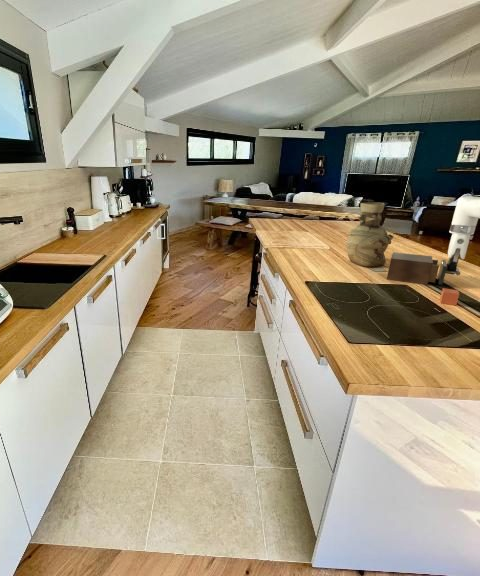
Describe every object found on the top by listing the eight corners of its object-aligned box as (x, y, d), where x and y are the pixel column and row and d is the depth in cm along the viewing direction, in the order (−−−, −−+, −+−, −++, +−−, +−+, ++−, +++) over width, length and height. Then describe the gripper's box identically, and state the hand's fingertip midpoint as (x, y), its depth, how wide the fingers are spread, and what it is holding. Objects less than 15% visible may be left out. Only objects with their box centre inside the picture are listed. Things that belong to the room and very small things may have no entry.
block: (454, 301, 113) (458, 290, 112) (456, 305, 110) (459, 294, 108) (439, 299, 116) (442, 288, 114) (440, 303, 112) (443, 291, 111)
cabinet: (426, 277, 139) (432, 256, 136) (427, 285, 130) (433, 263, 126) (388, 272, 147) (392, 252, 144) (386, 279, 137) (391, 258, 134)
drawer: (455, 279, 133) (460, 261, 131) (457, 287, 125) (463, 268, 122) (403, 272, 143) (407, 255, 140) (403, 279, 134) (407, 261, 132)
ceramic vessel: (395, 269, 151) (409, 205, 140) (348, 267, 155) (358, 205, 145) (382, 259, 168) (394, 201, 158) (340, 257, 173) (348, 201, 162)
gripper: (477, 233, 115) (463, 280, 122) (471, 227, 127) (459, 270, 133) (451, 231, 119) (439, 277, 126) (448, 225, 131) (437, 267, 137)
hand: (449, 273), depth 129 cm, fingers closed
